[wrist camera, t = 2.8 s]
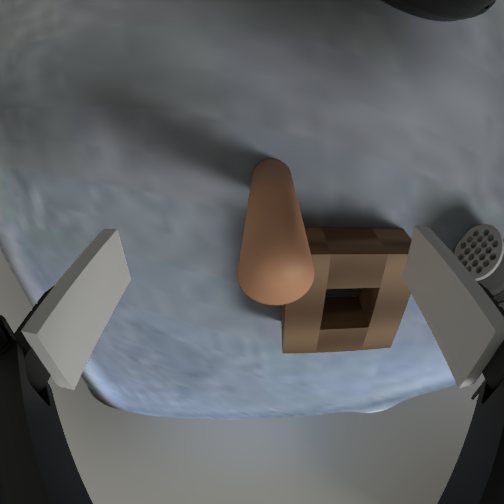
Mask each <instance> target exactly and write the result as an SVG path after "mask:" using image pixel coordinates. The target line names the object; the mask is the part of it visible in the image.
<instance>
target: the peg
mask: <svg viewBox="0 0 504 504" xmlns="http://www.w3.org/2000/svg"><path fill="white" fill-rule="evenodd" d="M313 280H314V267H313V262H312V258H311V253H310V249H309V244H308V240H307V236H306V232H305V228H304V223H303V219H302V215H301V211H300V207H299V203H298V199H297V195H296V192H295V188H294V184H293V180H292V176H291V173H290V170H289V168H288V167H287V165H286V164H284V163H283V162H282V161H280V160H277V159H266V160H264V161H261V162H260V163H259V164H258V165H257V166H256V167H255V168H254V170H253V174H252V180H251V186H250V193H249V199H248V206H247V212H246V219H245V225H244V232H243V239H242V245H241V252H240V259H239V266H238V281H239V284H240V286H241V288H242V290H243V291H244V292H245V293H246V295H248V296H249V297H250V298H252V299H253V300H255V301H257V302H260V303H263V304H267V305H284V304H288V303H291V302H294V301H296V300H298V299H299V298H301V297H302V296H303V295H304V294H305V293H306V292H307V291H308V290H309V289H310V287H311V285H312V283H313Z"/></svg>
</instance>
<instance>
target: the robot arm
mask: <svg viewBox="0 0 504 504" xmlns="http://www.w3.org/2000/svg"><path fill="white" fill-rule="evenodd" d="M382 1H384V2H386V3H388V4H389V5H391V6H393V7H395V8H397V9H399V10H402V11H404V12H406V13H409V14H412V15H415V16H418V17H421V18H425V19H429V20H435V21H456V20H462V19H467V18H472V17H475V16H478V15H480V14H482V13H484V12H486V11H487V10H488V9H489V8H490V7H491V6H492V5H493V4H494V3H495V1H496V0H382ZM402 278H403V280H404V282H405V284H406V285H407V287H408V289H409V290H410V292H411V294H412V296H413V297H414V299H415V301H416V303H417V305H418V306H419V308H420V310H421V312H422V314H423V316H424V317H425V319H426V321H427V323H428V325H429V327H430V329H431V331H432V333H433V335H434V337H435V339H436V341H437V343H438V345H439V347H440V349H441V351H442V353H443V355H444V357H445V359H446V361H447V363H448V366H449V368H450V370H451V372H452V374H453V377H454V379H455V381H456V383H457V386H458V388H461V387H465V386H468V385H472V384H474V383H475V382H476V380H477V379H478V378H479V376H480V375H481V374H482V373H483V375H484V377H485V380H484V382H483V383H482V385H481V386H480V387H479V388H478V389H477V391H476V392H475V393H474V394H473V396H472V398H471V399H474V398H475V397H476V396H477V395H478V394H479V396H478V400H477V404H476V408H475V411H474V415H473V417H472V421H471V424H470V427H469V430H468V433H467V436H466V439H465V442H464V445H463V448H462V450H461V453H460V455H459V458H458V461H457V463H456V465H455V468H454V470H453V472H452V475H451V477H450V479H449V481H448V483H447V486H446V488H445V490H444V492H443V494H442V496H441V498H440V500H439V502H438V504H504V310H503V308H502V307H500V304H499V303H498V302H497V300H495V298H494V296H493V295H492V294H491V292H490V291H489V290H488V289H487V288H486V287H484V286H483V285H482V284H481V283H479V282H477V281H476V280H475V279H474V277H473V276H472V275H471V274H470V272H469V271H468V270H467V269H466V268H465V266H464V265H463V264H462V263H461V262H460V261H459V259H458V258H457V257H456V256H455V255H454V254H453V253H452V251H451V250H450V249H449V248H448V247H447V246H446V245H445V244H444V243H443V241H442V240H441V239H440V238H439V237H438V236H437V235H436V234H435V233H434V232H433V231H432V230H431V229H430V228H429V227H426V226H415V227H414V232H413V236H412V241H411V245H410V249H409V253H408V257H407V261H406V265H405V268H404V272H403V276H402ZM130 281H131V277H130V274H129V270H128V266H127V263H126V259H125V256H124V252H123V248H122V244H121V240H120V236H119V232H118V229H103V231H102V232H101V233H100V234H99V235H98V236H97V237H96V238H95V239H94V240H93V241H92V242H91V244H90V245H89V246H88V247H87V248H86V249H85V250H84V251H83V253H82V254H81V255H80V256H79V257H78V258H77V259H76V261H75V262H74V263H73V264H72V265H71V267H70V268H69V269H68V270H67V271H66V272H65V274H64V275H63V276H62V277H61V279H60V280H59V281H58V282H57V283H56V285H55V286H53V287H52V288H51V289H49V290H48V291H47V292H45V293H44V294H43V296H42V297H41V298H40V299H39V301H38V304H36V305H35V306H34V307H33V309H32V311H30V313H29V314H28V316H27V317H26V318H25V319H24V321H23V322H22V324H21V325H20V327H19V328H18V329H17V331H16V332H15V333H13V331H12V330H11V328H10V326H9V324H8V323H7V321H6V319H5V318H4V317H3V316H2V315H0V504H93V503H92V501H91V499H90V497H89V495H88V493H87V490H86V488H85V486H84V484H83V482H82V480H81V477H80V475H79V472H78V470H77V467H76V465H75V462H74V460H73V457H72V455H71V452H70V449H69V447H68V444H67V441H66V438H65V435H64V432H63V429H62V425H61V422H60V419H59V416H58V412H57V409H56V405H55V401H54V397H53V393H52V390H51V387H50V385H49V384H48V380H49V378H50V376H51V377H52V378H53V380H54V381H55V382H56V384H57V385H58V386H61V387H64V388H68V389H72V390H74V389H75V387H76V385H77V383H78V381H79V378H80V376H81V374H82V372H83V370H84V368H85V366H86V364H87V362H88V359H89V357H90V355H91V353H92V351H93V349H94V347H95V345H96V343H97V341H98V339H99V338H100V336H101V334H102V332H103V330H104V328H105V326H106V324H107V322H108V320H109V318H110V317H111V315H112V313H113V311H114V309H115V307H116V306H117V304H118V302H119V300H120V298H121V297H122V295H123V293H124V291H125V290H126V288H127V286H128V284H129V283H130Z"/></svg>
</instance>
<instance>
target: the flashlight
mask: <svg viewBox="0 0 504 504" xmlns="http://www.w3.org/2000/svg"><path fill="white" fill-rule="evenodd" d="M469 252H470V253H469ZM479 252H480V253H479ZM468 253H469V254H468ZM478 253H479V254H478ZM454 255H455V256H456V257H457V258H458V259H459V261H460V262H461V263H462V264H463V265H464V266H465V268H466V269H467V270H468V271H469V272H470V274H471V275H472V276H473V277H474V279H475V280H476V281H477V282H479V283H481V284H482V285H483V286H484V287H486V288H487V289H488V290H489V291H490V292H491V294H492V295H493V296H494V298H495V300H497V302H498V303H499V304H500V307H502V308H503V310H504V239H503V238H502V236H501V234H500V233H499V231H498V230H497V229H496V228H495V227H493V226H491V225H487V224H481V225H477V226H474V227H473V228H471V229H469V231H468V232H467V233H466V234H465V235H464V236H463V238H462V239H461V240H460V241H459V242H458V244H457V246H456V248H455V252H454Z"/></svg>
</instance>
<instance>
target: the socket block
mask: <svg viewBox="0 0 504 504" xmlns="http://www.w3.org/2000/svg"><path fill="white" fill-rule="evenodd" d="M304 228H305V232H306V236H307V240H308V244H309V249H310V253H311V258H312V262H313V267H314V280H313V283H312V285H311V287H310V289H309V290H308V291H307V292H306V293H305V294H304V295H303V296H302V297H301V298H299V299H298V300H296V301H294V302H291V303H288V304H284V305H282V320H281V323H282V350H283V353H317V352H339V351H355V350H368V349H380V348H390V347H391V345H392V342H393V340H394V337H395V335H396V332H397V330H398V327H399V324H400V322H401V319H402V316H403V314H404V311H405V308H406V305H407V303H408V300H409V297H410V294H411V292H410V290H409V289H408V287H407V285H406V284H405V282H404V280H403V278H402V276H403V272H404V268H405V265H406V261H407V257H408V253H409V249H410V245H411V241H412V239H411V238H410V237H409V236H408V234H407V233H406V232H405V231H404V229H390V228H326V227H304ZM347 288H360V292H359V296H358V297H346V298H325V295H326V289H347Z"/></svg>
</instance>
